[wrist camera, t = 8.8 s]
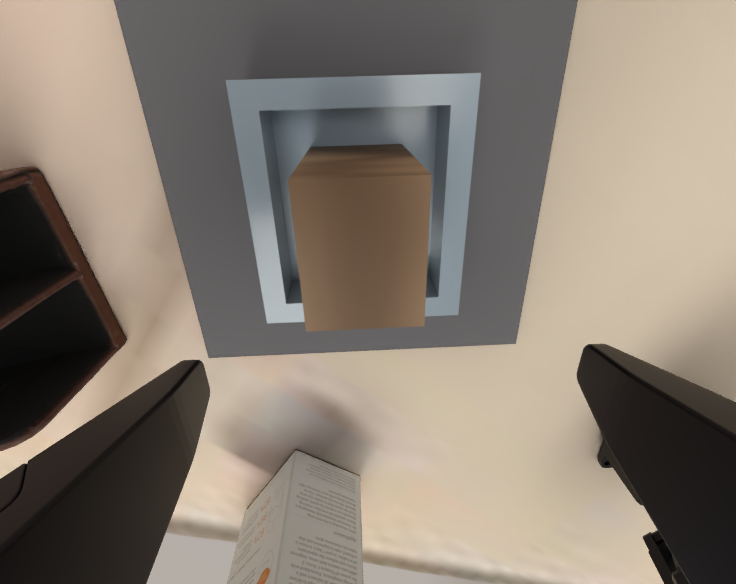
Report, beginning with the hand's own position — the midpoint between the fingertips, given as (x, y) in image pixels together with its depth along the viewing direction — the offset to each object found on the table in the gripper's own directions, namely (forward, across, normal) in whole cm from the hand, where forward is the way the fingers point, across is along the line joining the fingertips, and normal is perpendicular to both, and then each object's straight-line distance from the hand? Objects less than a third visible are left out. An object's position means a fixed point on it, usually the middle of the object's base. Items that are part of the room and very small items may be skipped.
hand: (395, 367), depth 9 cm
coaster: (+12, +1, -1) cm, 12 cm away
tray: (+12, +1, -1) cm, 12 cm away
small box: (+12, +6, +21) cm, 25 cm away
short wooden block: (+11, +1, -1) cm, 11 cm away
